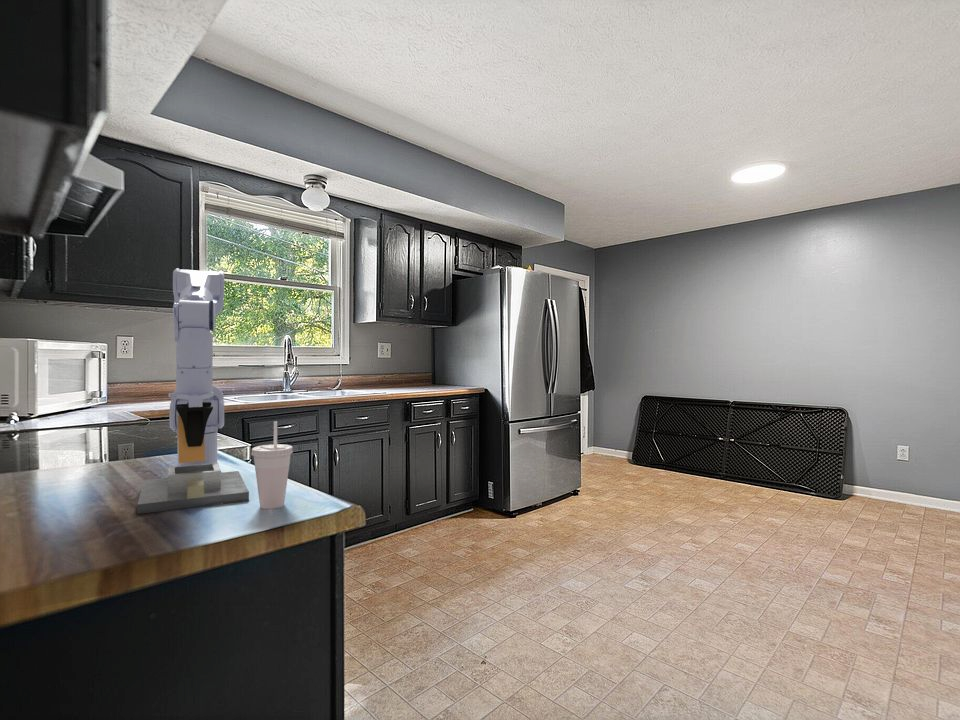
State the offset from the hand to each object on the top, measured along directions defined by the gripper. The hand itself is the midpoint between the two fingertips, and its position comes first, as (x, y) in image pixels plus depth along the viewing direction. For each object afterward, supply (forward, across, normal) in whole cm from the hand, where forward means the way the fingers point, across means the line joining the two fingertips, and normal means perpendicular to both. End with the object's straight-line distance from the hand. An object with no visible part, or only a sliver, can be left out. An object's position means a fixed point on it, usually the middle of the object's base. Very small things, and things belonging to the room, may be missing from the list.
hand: (194, 444), depth 94 cm
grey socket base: (+9, 0, 0) cm, 9 cm away
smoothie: (+9, +14, +11) cm, 20 cm away
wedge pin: (+3, 0, 0) cm, 3 cm away
